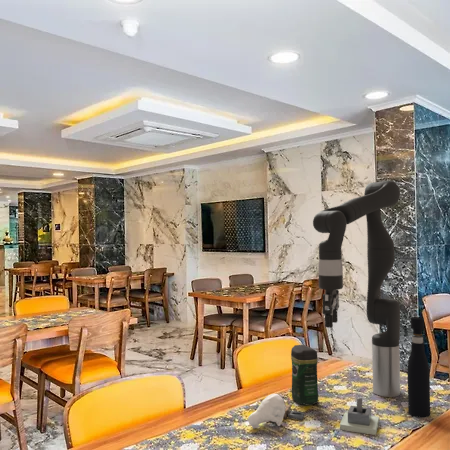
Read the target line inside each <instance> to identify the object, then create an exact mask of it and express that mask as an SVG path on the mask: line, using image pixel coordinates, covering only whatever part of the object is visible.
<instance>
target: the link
mask: <svg viewBox="0 0 450 450" xmlns="http://www.w3.org/2000/svg"><path fill="white" fill-rule="evenodd" d="M347 412H348V423H352V424H359V425H366V426H369V425H370V422H371V416H372V408H371V407H366V406H362V413H358V412H357V405H350V406H349V409H348V411H347Z"/></svg>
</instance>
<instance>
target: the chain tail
mask: <svg viewBox="0 0 450 450" xmlns="http://www.w3.org/2000/svg"><path fill="white" fill-rule="evenodd" d="M284 405H285V407H286V409H285V414H284V417H283V420H287V419H291V420H299V421H303V420H304V418H305V417H306V416H305V412H301V411H294V410H292V408H291V407H292V406H291V405H292V404H291V405H290V404H284Z"/></svg>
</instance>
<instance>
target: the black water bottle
mask: <svg viewBox="0 0 450 450" xmlns="http://www.w3.org/2000/svg"><path fill="white" fill-rule="evenodd" d="M410 328H411V329H412V331H413V332H412V337H411V343H410V346H411V351H410V354H409V357H408V361H407V367H406V370H407V411H408V414H409V415H410V416H412V417H416V418H422V419H423V418H429V417H430V416H431V388H430V387H431V386H430V385H431V384H430V382H431V381H430V380H431V379H430V366H429V361H428V359H427V355H426V353H425V343H424V337H423V333H422V332H423V330H425V319H424V317H419V316H412V317H410Z"/></svg>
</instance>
